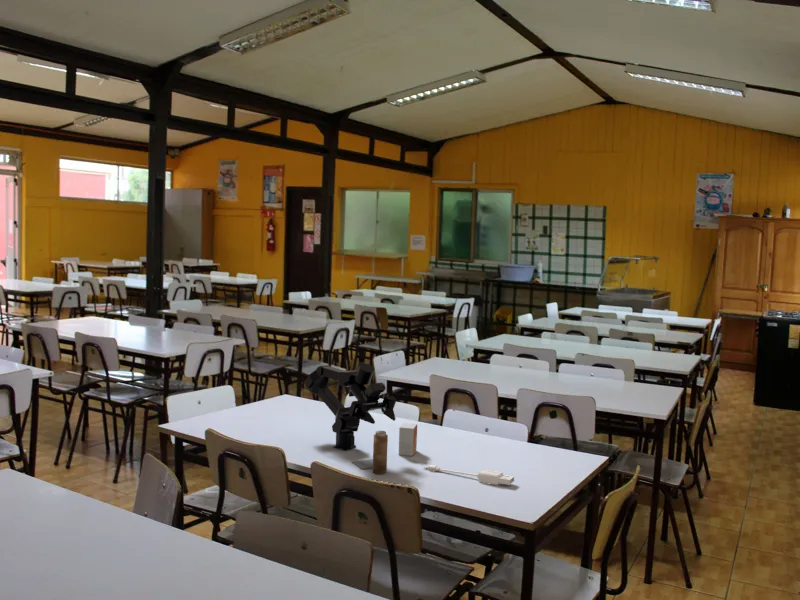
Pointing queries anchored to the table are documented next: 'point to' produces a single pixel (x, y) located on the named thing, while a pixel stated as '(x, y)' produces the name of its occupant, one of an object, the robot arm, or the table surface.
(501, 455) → the table surface
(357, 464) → the coaster
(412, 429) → the small box
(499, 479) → the charging cable
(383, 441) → the pepper mill
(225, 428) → the table surface
